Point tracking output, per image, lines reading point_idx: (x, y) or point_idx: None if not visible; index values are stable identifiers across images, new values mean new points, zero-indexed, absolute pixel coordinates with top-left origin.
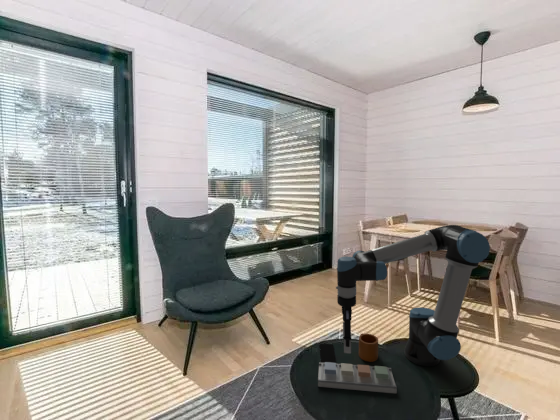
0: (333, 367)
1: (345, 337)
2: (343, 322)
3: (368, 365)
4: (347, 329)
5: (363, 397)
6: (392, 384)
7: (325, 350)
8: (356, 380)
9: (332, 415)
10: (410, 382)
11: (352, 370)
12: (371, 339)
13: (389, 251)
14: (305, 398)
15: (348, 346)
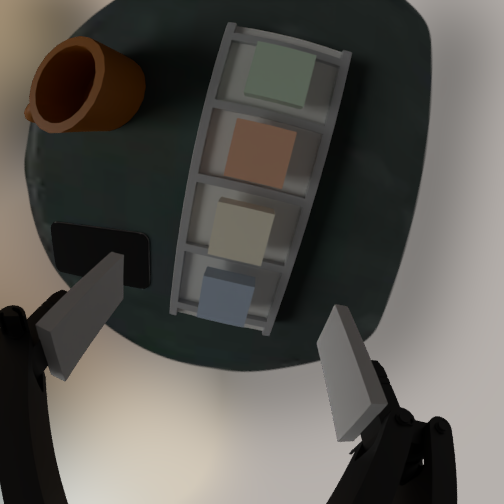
0: (235, 292)
1: (419, 463)
2: (57, 375)
3: (237, 121)
4: None
5: (349, 187)
6: (338, 60)
7: (83, 257)
8: (295, 199)
9: (387, 302)
10: None
11: (267, 215)
12: (57, 70)
13: None
14: (311, 356)
15: (377, 370)
